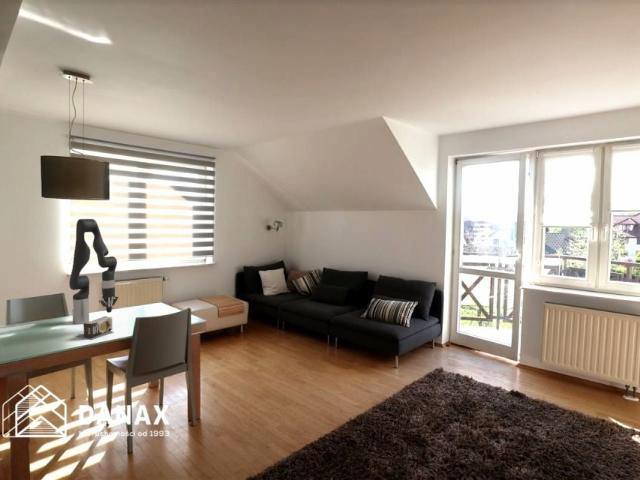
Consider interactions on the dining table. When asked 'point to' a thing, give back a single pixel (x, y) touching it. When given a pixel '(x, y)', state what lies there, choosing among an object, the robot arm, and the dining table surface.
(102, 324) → the coffee box
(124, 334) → the dining table surface
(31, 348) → the dining table surface
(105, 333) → the mat
